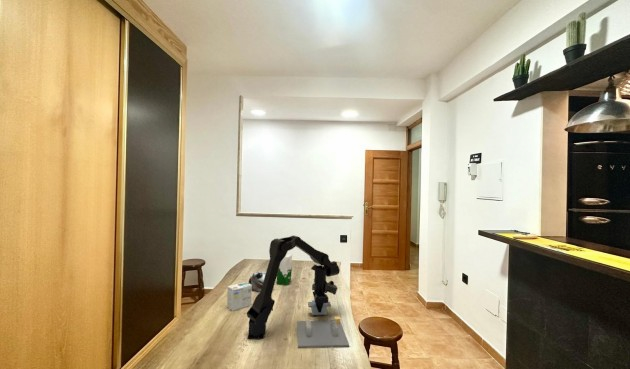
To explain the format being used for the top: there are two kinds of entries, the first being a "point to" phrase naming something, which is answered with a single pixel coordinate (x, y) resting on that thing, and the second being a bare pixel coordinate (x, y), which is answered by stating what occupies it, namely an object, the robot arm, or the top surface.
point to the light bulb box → (239, 296)
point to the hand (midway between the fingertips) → (319, 310)
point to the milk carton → (285, 270)
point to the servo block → (315, 310)
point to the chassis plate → (321, 334)
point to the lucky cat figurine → (257, 280)
